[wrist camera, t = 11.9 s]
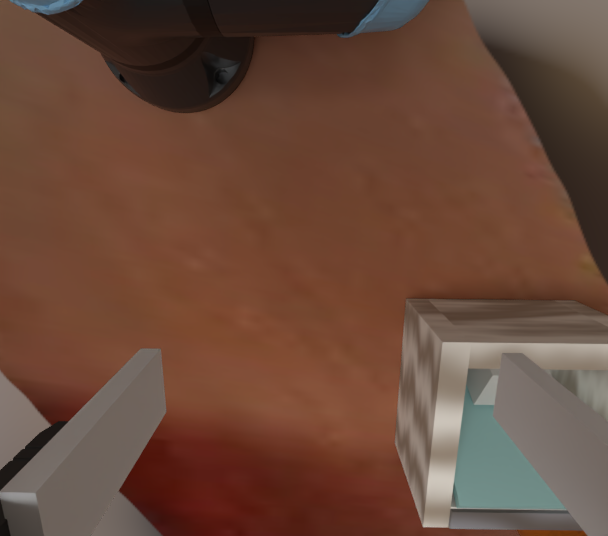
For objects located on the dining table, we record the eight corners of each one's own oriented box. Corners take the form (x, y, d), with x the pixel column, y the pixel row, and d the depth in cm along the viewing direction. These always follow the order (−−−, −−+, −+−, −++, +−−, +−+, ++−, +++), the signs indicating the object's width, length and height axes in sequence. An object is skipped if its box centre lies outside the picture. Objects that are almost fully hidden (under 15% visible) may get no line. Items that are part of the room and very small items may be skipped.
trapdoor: (426, 372, 45) (428, 369, 44) (540, 374, 45) (544, 370, 44) (456, 508, 35) (460, 506, 35) (600, 509, 35) (607, 508, 35)
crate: (406, 298, 43) (444, 344, 31) (574, 300, 43) (678, 346, 31) (394, 442, 48) (424, 530, 36) (546, 444, 48) (627, 533, 36)
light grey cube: (457, 358, 45) (472, 328, 41) (505, 359, 45) (525, 328, 41) (473, 404, 41) (492, 375, 37) (527, 405, 41) (552, 376, 37)
